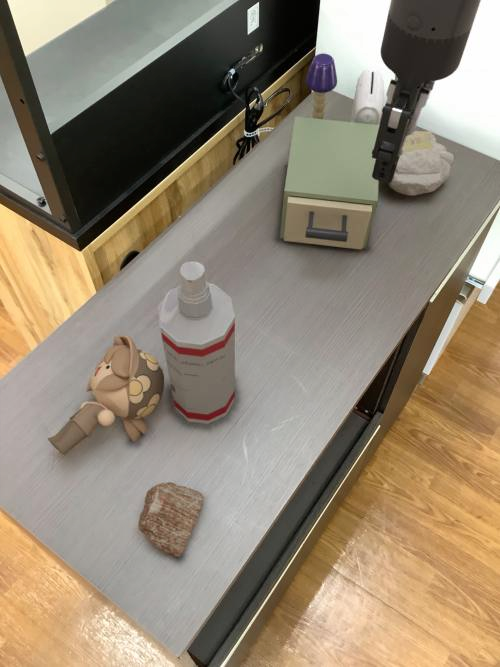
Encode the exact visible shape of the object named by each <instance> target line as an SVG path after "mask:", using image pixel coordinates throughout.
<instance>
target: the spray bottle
mask: <svg viewBox="0 0 500 667" xmlns="http://www.w3.org/2000/svg"><path fill="white" fill-rule="evenodd" d="M179 273H180V282H179V285H178V286H176V287H174V288H170V289H169V290H168V292H166V294H165V296H164V297H163V298H162V300H161V301H160V303H159V305H158V306H157V314H158V320H159V328H160V334H161V340H162V345H163V352H164V356H165V362H166V367H167V368H166V369H167V373H168V380H169V384H170V390H171V395H172V401H173V406H174V409H175V411H176V412H177V413H178V414H180V416H182V417H183V418H184V419H185V420H186V421H188V422H189V423H195V424H197V423H198V424H203V425H209V424H212V423H214V422H215V421H218V420H220V419H222V418H224V417H227V415H228V413H229V411H230V410H231V407H232V405H233V404H234V403H235V399H236V315H235V311H234V305H233V301H232V297H231V296H230V295H229V294H227V293H226V292H225V291H224V290H223V289H221V288H220V287H219V286H217V284H215V283H209V281H207V279H206V270H205V266H204V265H203V264H202V263H200V262H199V261H194V260H193V261H192V260H190V261H187V262H183V263H182V265H181V266H180V267H179Z"/></svg>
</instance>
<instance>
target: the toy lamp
mask: <svg viewBox="0 0 500 667" xmlns="http://www.w3.org/2000/svg"><path fill="white" fill-rule="evenodd" d="M305 85H306V87H307V88H308V89H309V90H310V91H312V92H314V96H313V100H314V101H313V104H312V106H313V110H312V118H315V119H324V117H325V108H326V103H325V102H326V100H327V93H329V92H332V91H333V90H334V89H335V88H336V87H337V85H338V76H337V70H336V63H335V59H334V57H333V56H332V55H331V54H329V53H323V52H322V53H318V54H315V55H314V57H313V58H312V60H311V63H310V66H309V67H308V71H307V74H306V77H305Z"/></svg>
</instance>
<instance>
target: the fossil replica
mask: <svg viewBox="0 0 500 667" xmlns="http://www.w3.org/2000/svg"><path fill="white" fill-rule="evenodd" d="M402 150H403V153H402V155H400V157H399V160H398V163H397V167H396V171H395V174H394V177H393V180H392V182H391V183H388V186H389V188H390V189H392V190H394V192H397V193H399V194H402V195H407V196H419V195H423V194H427V193H431V192H434V191H436V190H437V189H438V188H440V186H441V185H442V184H444V183H445V181H447V180H448V178H449V176H450V171H451V167H452V166H453V165H454V161H455V156H454V154H453V153H452V152H448V150H447V148H446V146H445V145H443V144H442V143H439V142H437V138H436V136H435V135H434V133H433V132H431V131H428V130H427V131H425V130H423V131H421V130H420V131H419V130H414V132H413V134H412V135H409V136H407V138H406V140H405V143H404V146H403V149H402Z"/></svg>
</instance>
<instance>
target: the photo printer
mask: <svg viewBox="0 0 500 667" xmlns="http://www.w3.org/2000/svg"><path fill="white" fill-rule="evenodd" d="M384 98H385V80H384V77H383V74H382V73H381V72H380V70H378V68H377V69H376V68H373V69H372V68H371V67H370V68H365V69H364V70H363V71H362V72H361V73H360V75H359V77H358V78H357V82H356V86H355V92H354V98H353V103H352V107H351V113H350V118H349V122H354V123H363V124H373V125H380V120H381V117H382V113H383V112H382V109H383V107H384Z"/></svg>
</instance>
